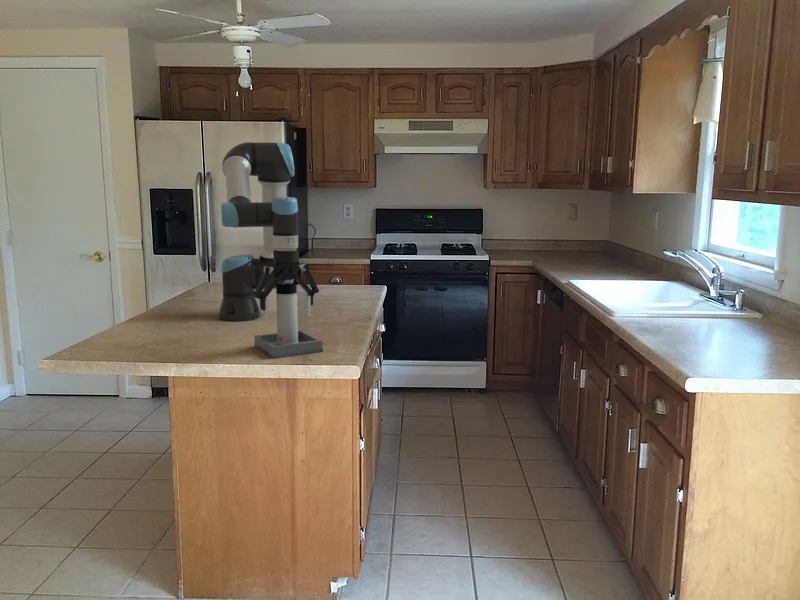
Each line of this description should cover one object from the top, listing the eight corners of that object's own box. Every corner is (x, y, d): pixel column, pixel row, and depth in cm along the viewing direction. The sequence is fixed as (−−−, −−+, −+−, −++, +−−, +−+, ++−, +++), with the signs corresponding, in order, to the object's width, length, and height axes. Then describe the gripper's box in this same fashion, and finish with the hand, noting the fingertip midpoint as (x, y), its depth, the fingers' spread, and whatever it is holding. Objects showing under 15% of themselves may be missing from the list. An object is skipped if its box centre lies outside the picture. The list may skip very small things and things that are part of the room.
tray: (254, 346, 205) (254, 335, 204) (302, 340, 213) (302, 330, 212) (272, 358, 192) (272, 347, 191) (322, 351, 200) (322, 340, 199)
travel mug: (279, 349, 198) (277, 284, 194) (276, 344, 204) (274, 280, 201) (299, 347, 200) (298, 283, 196) (296, 342, 206) (295, 279, 202)
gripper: (249, 252, 187) (251, 325, 191) (329, 248, 200) (329, 316, 204) (241, 249, 194) (243, 319, 198) (319, 245, 206) (319, 311, 210)
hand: (287, 318), depth 201 cm, fingers open, 13 cm apart
